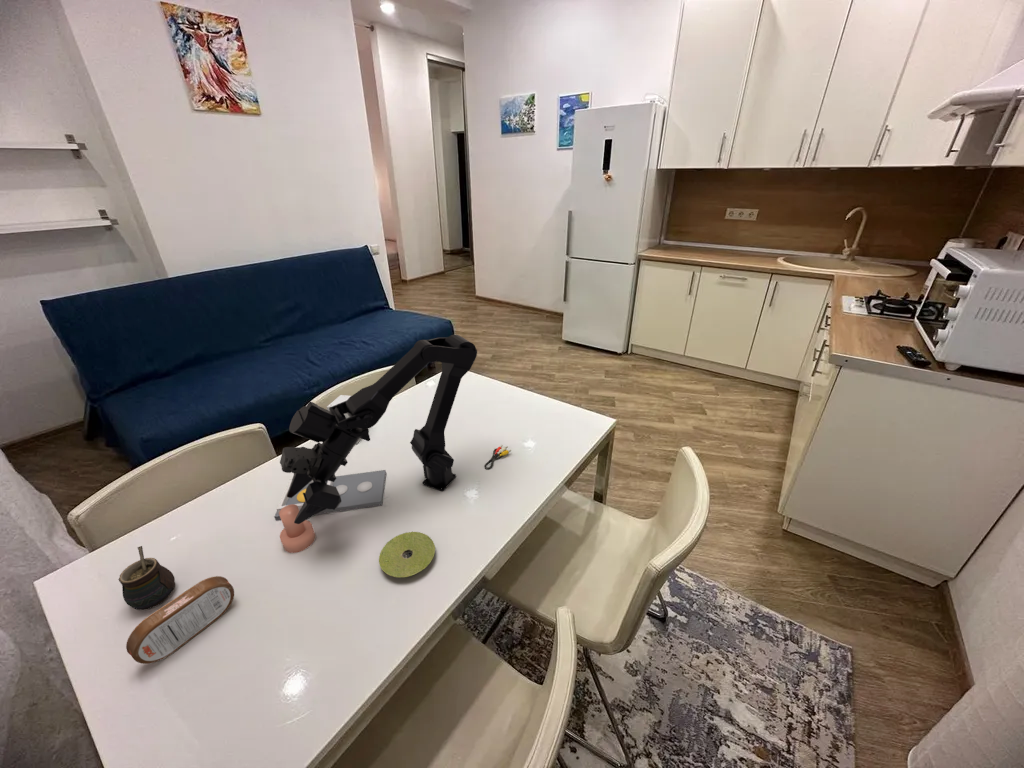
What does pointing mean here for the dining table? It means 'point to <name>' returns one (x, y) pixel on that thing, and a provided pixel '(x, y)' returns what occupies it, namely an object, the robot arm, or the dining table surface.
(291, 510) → the pink flanged peg
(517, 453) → the dining table surface
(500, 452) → the composite cable
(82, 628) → the dining table surface
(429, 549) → the green disc
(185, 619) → the tin
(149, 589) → the mate gourd
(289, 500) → the station board
